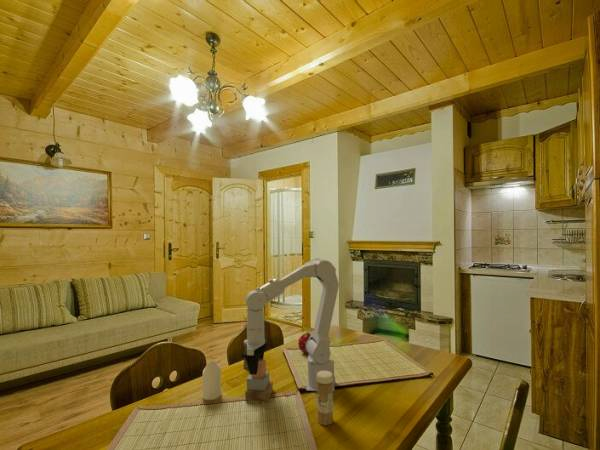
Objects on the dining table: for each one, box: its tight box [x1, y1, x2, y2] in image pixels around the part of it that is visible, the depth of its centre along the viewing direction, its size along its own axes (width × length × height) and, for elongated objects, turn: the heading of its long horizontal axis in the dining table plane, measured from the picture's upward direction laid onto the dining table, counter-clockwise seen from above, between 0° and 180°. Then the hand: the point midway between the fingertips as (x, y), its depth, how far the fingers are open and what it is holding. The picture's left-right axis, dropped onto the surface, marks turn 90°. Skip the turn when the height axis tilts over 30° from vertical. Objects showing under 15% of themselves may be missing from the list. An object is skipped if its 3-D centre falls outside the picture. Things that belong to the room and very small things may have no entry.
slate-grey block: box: [246, 370, 270, 391], centre depth 104 cm, size 6×6×4 cm
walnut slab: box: [244, 380, 274, 403], centre depth 104 cm, size 8×8×4 cm
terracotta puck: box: [251, 358, 267, 379], centre depth 104 cm, size 5×5×4 cm
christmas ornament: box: [297, 330, 311, 355], centre depth 139 cm, size 9×9×10 cm
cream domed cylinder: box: [201, 360, 222, 401], centre depth 104 cm, size 6×12×6 cm
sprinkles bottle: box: [316, 371, 334, 426], centre depth 89 cm, size 5×5×13 cm
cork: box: [242, 338, 249, 371], centre depth 126 cm, size 6×6×11 cm
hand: (256, 368), depth 104 cm, fingers open, 7 cm apart
